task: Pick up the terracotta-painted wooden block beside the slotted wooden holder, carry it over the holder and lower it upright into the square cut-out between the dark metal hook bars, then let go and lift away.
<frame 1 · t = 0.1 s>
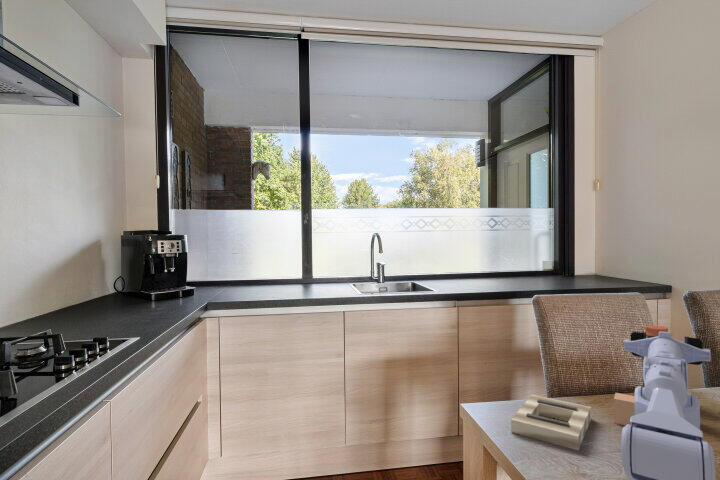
hand: (665, 338, 91), 22 cm above the table, tool horizontal, fingers open, 7 cm apart
pill bottle: (677, 421, 97), on the table
slotted wooden holder: (552, 425, 96), on the table
vinegar: (658, 400, 109), on the table
block: (626, 422, 97), on the table
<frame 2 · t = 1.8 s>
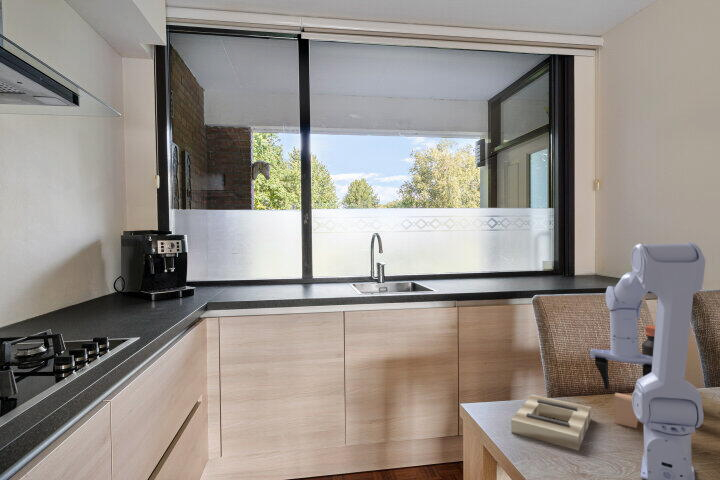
hand: (625, 391, 97), 7 cm above the table, tool pointing down, fingers open, 7 cm apart
nothing on the table moved.
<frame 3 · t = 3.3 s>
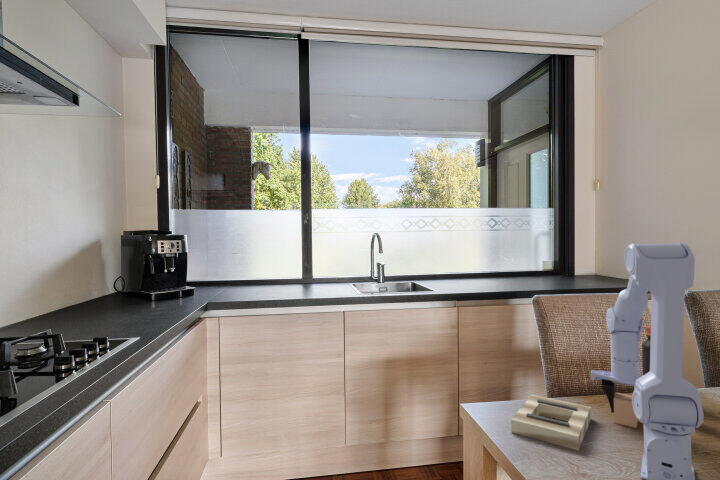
hand: (625, 414, 97), 2 cm above the table, tool pointing down, fingers closed on block, 4 cm apart
block: (626, 421, 97), on the table, touching gripper
everything else where it was.
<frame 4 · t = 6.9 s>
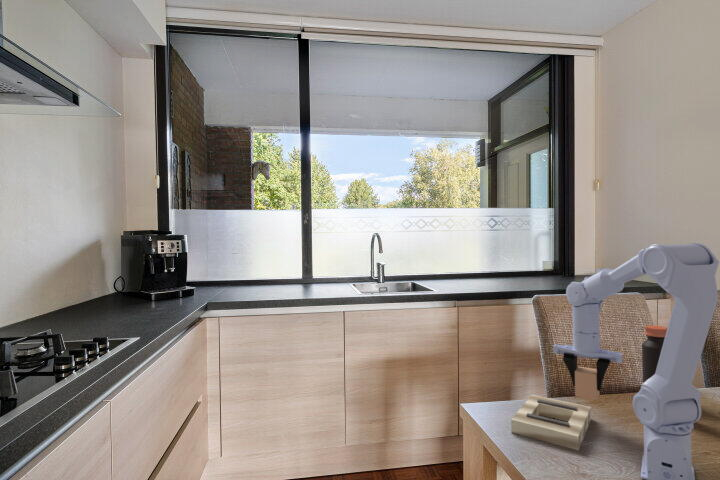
hand: (587, 387, 96), 9 cm above the table, tool pointing down, fingers closed on block, 4 cm apart
block: (587, 395, 96), point 7 cm above the table, touching gripper
everything else where it was.
when the fingers open (4 cm above the table, at t = 10.3 s): block drops 2 cm, resting in slotted wooden holder.
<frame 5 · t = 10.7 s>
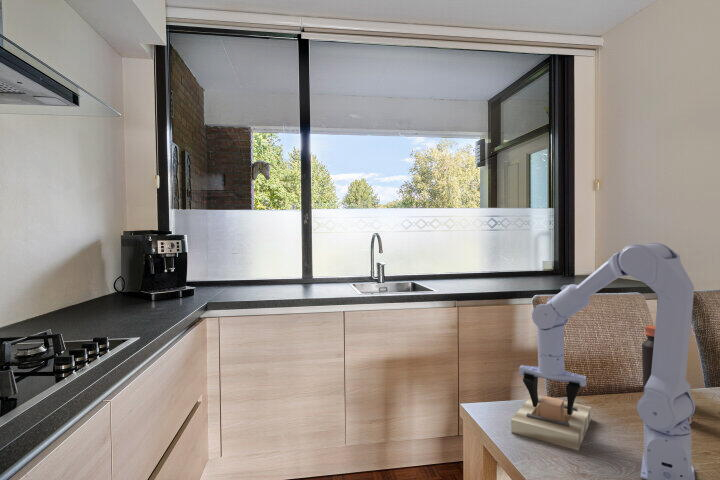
hand: (552, 409, 96), 4 cm above the table, tool pointing down, fingers open, 7 cm apart
block: (552, 425, 96), resting in slotted wooden holder
everything else where it was.
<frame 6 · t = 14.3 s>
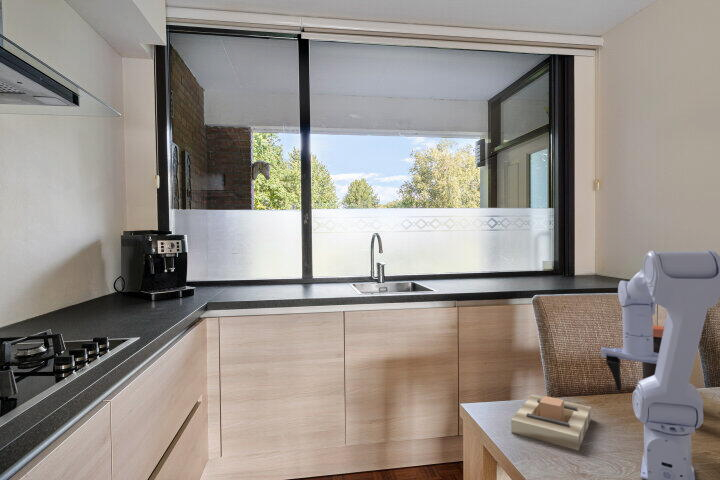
hand: (639, 392, 91), 9 cm above the table, tool pointing down, fingers open, 7 cm apart
nothing on the table moved.
at the end: block 0.1 cm off-centre on the slotted wooden holder, point 0.0 cm above the slotted wooden holder's base; block tilted 0°; the gripper is holding nothing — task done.
